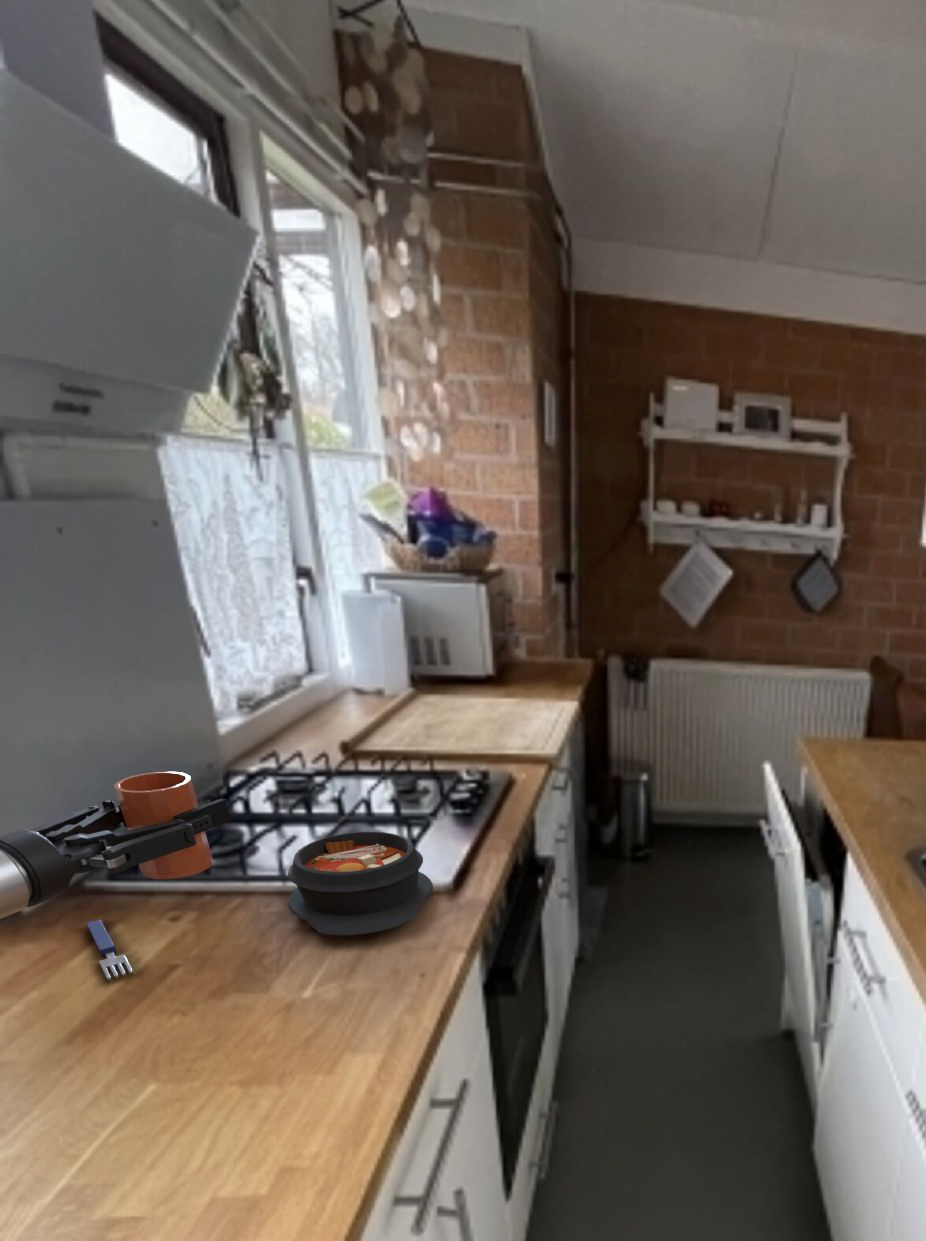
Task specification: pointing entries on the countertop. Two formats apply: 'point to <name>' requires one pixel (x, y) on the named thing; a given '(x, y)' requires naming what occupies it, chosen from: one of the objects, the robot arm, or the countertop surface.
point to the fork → (107, 951)
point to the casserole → (358, 883)
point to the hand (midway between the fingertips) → (198, 804)
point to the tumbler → (163, 819)
